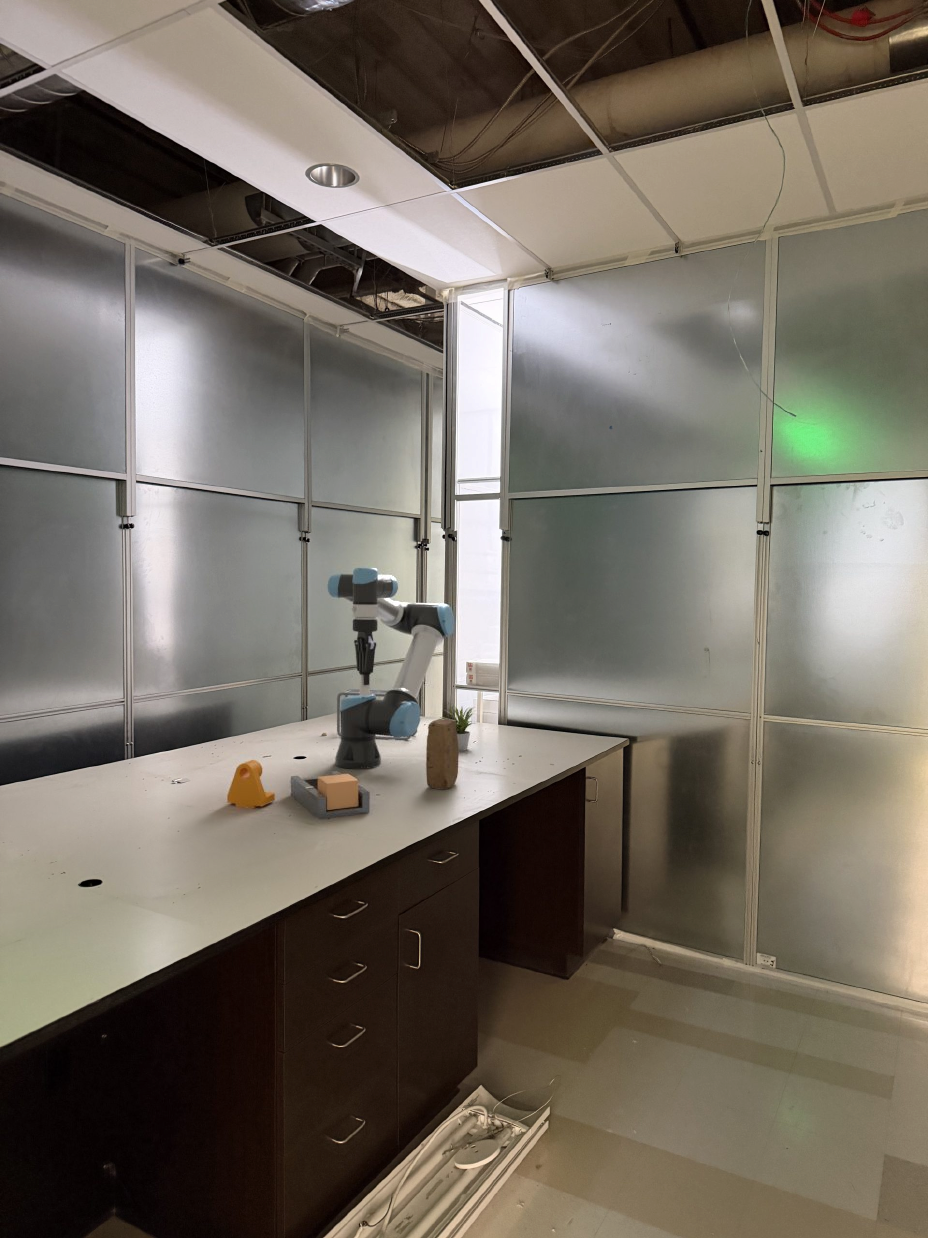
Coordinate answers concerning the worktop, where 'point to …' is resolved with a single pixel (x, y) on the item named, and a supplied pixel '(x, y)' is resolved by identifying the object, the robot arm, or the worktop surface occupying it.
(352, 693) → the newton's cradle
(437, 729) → the block
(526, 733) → the worktop surface
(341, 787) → the slider block
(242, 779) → the bracket
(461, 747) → the house plant
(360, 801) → the chute
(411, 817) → the worktop surface
